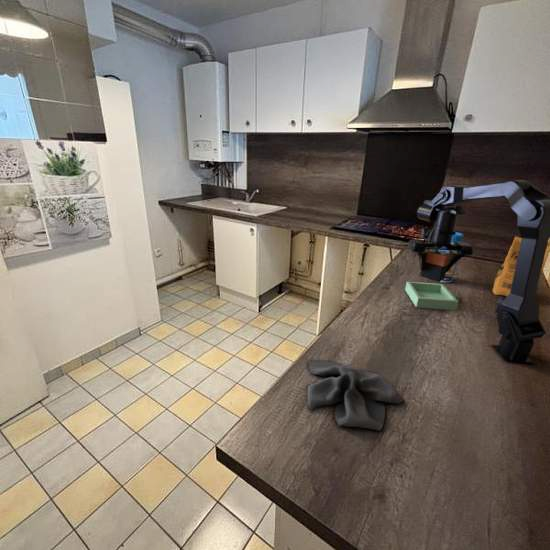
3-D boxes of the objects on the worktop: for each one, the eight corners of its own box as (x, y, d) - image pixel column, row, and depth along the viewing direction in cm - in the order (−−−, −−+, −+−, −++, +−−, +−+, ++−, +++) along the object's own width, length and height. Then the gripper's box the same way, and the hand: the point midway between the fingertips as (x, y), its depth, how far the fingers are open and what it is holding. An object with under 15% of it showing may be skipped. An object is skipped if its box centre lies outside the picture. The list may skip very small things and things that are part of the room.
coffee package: (493, 285, 118) (511, 233, 110) (532, 295, 110) (555, 239, 102) (489, 293, 111) (508, 238, 103) (530, 304, 104) (555, 245, 95)
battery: (439, 282, 97) (447, 254, 93) (419, 276, 101) (425, 249, 98) (444, 279, 100) (452, 251, 96) (424, 273, 104) (430, 246, 100)
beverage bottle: (457, 281, 121) (471, 235, 114) (443, 284, 118) (455, 236, 111) (440, 274, 129) (452, 230, 121) (426, 276, 126) (437, 231, 118)
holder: (456, 310, 99) (458, 301, 97) (415, 307, 100) (418, 298, 99) (440, 292, 111) (442, 284, 110) (405, 289, 113) (406, 281, 112)
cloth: (408, 388, 65) (413, 367, 63) (381, 451, 51) (387, 426, 49) (320, 350, 77) (322, 330, 75) (279, 392, 63) (280, 370, 61)
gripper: (464, 222, 100) (452, 264, 106) (407, 219, 102) (399, 261, 108) (480, 230, 90) (466, 276, 96) (417, 226, 92) (407, 272, 98)
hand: (433, 271), depth 100 cm, fingers closed on battery, 7 cm apart
